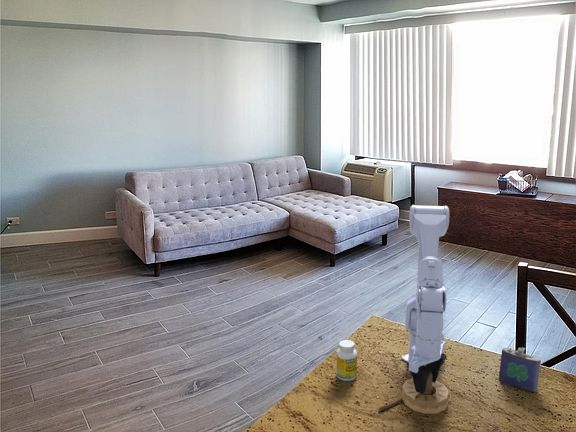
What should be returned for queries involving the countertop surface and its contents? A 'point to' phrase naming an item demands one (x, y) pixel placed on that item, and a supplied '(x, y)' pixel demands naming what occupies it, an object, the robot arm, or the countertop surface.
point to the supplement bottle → (346, 361)
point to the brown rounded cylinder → (428, 386)
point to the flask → (519, 369)
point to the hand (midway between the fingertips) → (425, 385)
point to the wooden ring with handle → (423, 398)
